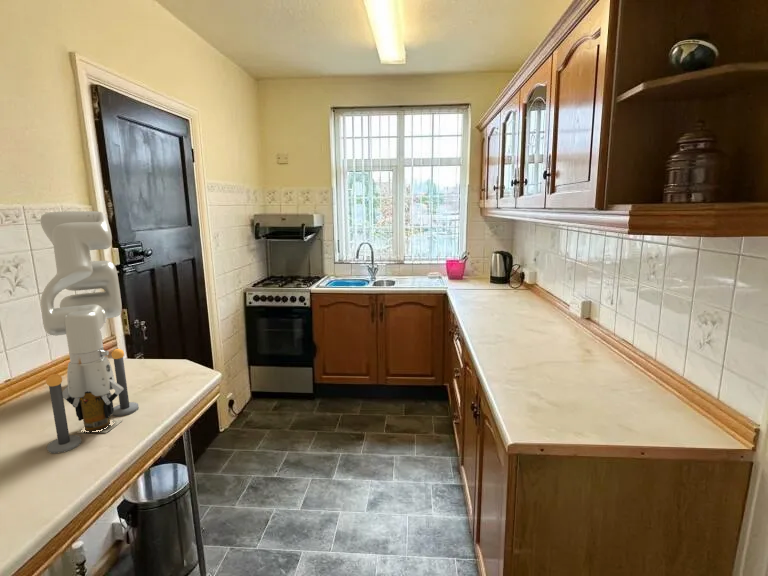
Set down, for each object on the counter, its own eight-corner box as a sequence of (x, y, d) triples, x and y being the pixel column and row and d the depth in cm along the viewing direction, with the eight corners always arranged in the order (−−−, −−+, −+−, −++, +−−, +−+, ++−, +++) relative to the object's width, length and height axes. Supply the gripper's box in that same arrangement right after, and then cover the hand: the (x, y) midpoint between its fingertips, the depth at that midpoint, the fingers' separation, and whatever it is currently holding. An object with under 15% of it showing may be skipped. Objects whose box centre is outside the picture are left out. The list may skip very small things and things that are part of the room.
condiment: (94, 420, 124) (88, 381, 122) (123, 420, 124) (118, 381, 122) (76, 433, 117) (69, 392, 115) (106, 433, 117) (100, 392, 114)
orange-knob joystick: (56, 440, 114) (45, 370, 110) (86, 437, 115) (75, 368, 111) (41, 454, 107) (28, 381, 103) (73, 451, 108) (61, 378, 105)
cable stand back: (117, 406, 133) (109, 346, 129) (141, 404, 134) (134, 344, 130) (107, 417, 126) (98, 353, 122) (133, 414, 127) (125, 352, 123)
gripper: (127, 349, 122) (134, 408, 125) (58, 353, 118) (68, 413, 122) (116, 358, 114) (124, 420, 118) (43, 363, 111) (53, 427, 115)
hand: (95, 416), depth 120 cm, fingers closed on condiment, 6 cm apart
